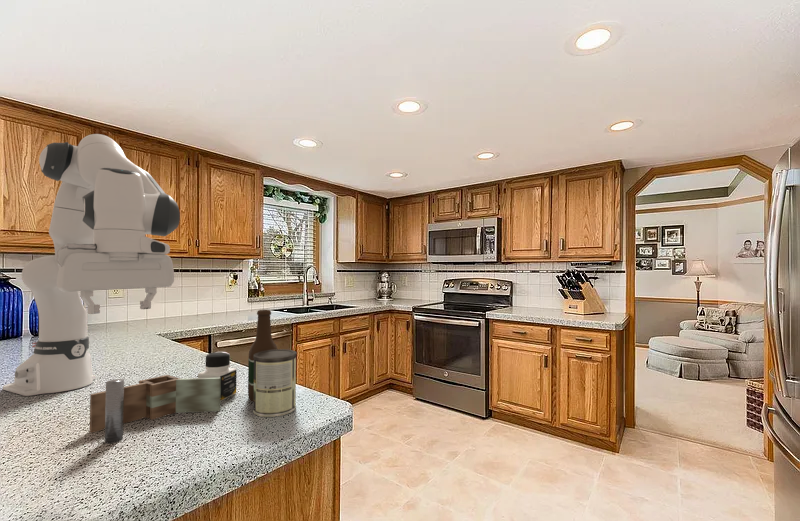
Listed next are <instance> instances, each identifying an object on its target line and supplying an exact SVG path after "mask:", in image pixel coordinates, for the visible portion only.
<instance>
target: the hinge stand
mask: <svg viewBox="0 0 800 521" xmlns="http://www.w3.org/2000/svg"><path fill="white" fill-rule="evenodd" d="M89 397H90V399H89V433H91V434H92V433H93V434H94V433H95V432H99V431H102V430H105V405H106V390H103V391H99V392H95V393H91V394H90V395H89ZM220 397H221V378H198V377H195V378H194V377H193V378H192V377H191V378H187V377H186V378H180V377H177V376H173V375H169V374H164V375H160V376H156V377H150V378H145V379H142V380H139V381H138V383H136V384H131V385H128V386H127V385H126V386H124V405H123V425H124V424H128V423H131V422H135V421H137V420H141V419H145V418H147V419H149V420H151V421H152V420H157V419H159V418H163V417H166V416H169V415H172V414H177V413H178V414H180V413H183V414H184V413H205V412H207V413H208V412H210V413H211V412H220V411H221V401H220Z"/></svg>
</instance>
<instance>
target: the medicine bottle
mask: <svg viewBox="0 0 800 521" xmlns="http://www.w3.org/2000/svg"><path fill="white" fill-rule="evenodd" d="M230 363H231V355H230V353H228V352H226V351H214V352H210V353H208V354H206V356H205V370H204V371H201V372H198V374H197V378H221V397H220V402H222V401H224V400H226V399H228V398H230V397H232V396H235V395H236V394H237V368H234V367H233V368H232V367H230V366H231V364H230Z"/></svg>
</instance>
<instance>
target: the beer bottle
mask: <svg viewBox="0 0 800 521" xmlns="http://www.w3.org/2000/svg"><path fill="white" fill-rule="evenodd" d="M256 315H257V325H256V336H255V340H253V342H252V344H251V345H250V348H249V351H248V366H247V368H248V369H247V372H248V374H247V375H248V376H247V396H248V400H249V401H250V402H251V403H254V358H253V356H254V354H255V353H258V352H261V351H266V350H276V349H278V346H277V344H276V342H274V339H273V337H272V325H271V315H272V312H271V310H270V309H259V310H257V312H256Z"/></svg>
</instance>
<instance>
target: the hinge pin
mask: <svg viewBox="0 0 800 521" xmlns="http://www.w3.org/2000/svg"><path fill="white" fill-rule="evenodd" d="M124 387H125V379H123V378H120V379H119V378H116V379H110V380H107V381H106V382H105V391H106V405H105V429H104V443H105V444H114V443H115V444H116V443H119V442H121V441H122V440H124V424H123V405H124Z"/></svg>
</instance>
